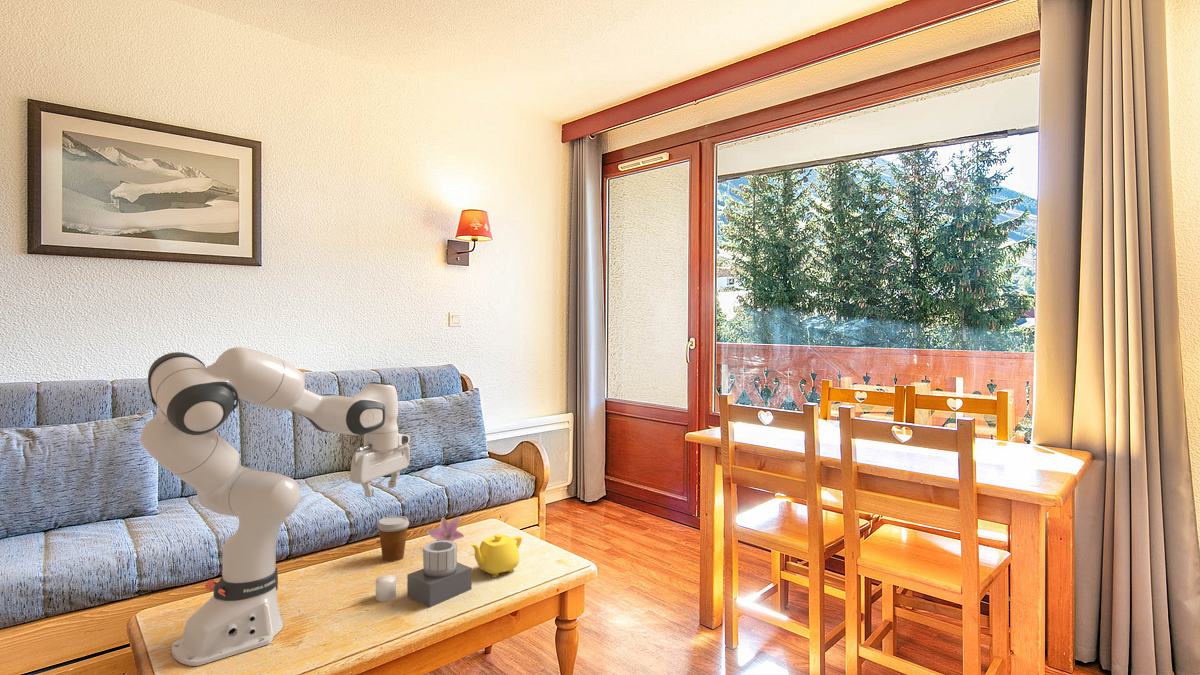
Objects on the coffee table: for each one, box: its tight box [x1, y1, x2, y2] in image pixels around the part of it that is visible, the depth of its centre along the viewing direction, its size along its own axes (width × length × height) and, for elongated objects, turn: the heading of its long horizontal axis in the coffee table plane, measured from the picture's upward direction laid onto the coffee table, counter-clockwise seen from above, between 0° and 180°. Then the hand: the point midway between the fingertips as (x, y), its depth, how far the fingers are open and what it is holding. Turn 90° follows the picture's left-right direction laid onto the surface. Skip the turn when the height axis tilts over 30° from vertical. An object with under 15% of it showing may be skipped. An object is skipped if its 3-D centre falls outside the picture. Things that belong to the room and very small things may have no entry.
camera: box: [406, 540, 473, 608], centre depth 169 cm, size 14×10×13 cm
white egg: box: [375, 574, 397, 603], centre depth 166 cm, size 5×5×5 cm
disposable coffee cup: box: [376, 515, 410, 563], centre depth 192 cm, size 10×10×12 cm
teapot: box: [469, 533, 523, 577], centre depth 184 cm, size 18×11×11 cm, turn 131°
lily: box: [426, 516, 465, 542], centre depth 202 cm, size 12×12×10 cm
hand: (381, 491), depth 166 cm, fingers open, 8 cm apart
